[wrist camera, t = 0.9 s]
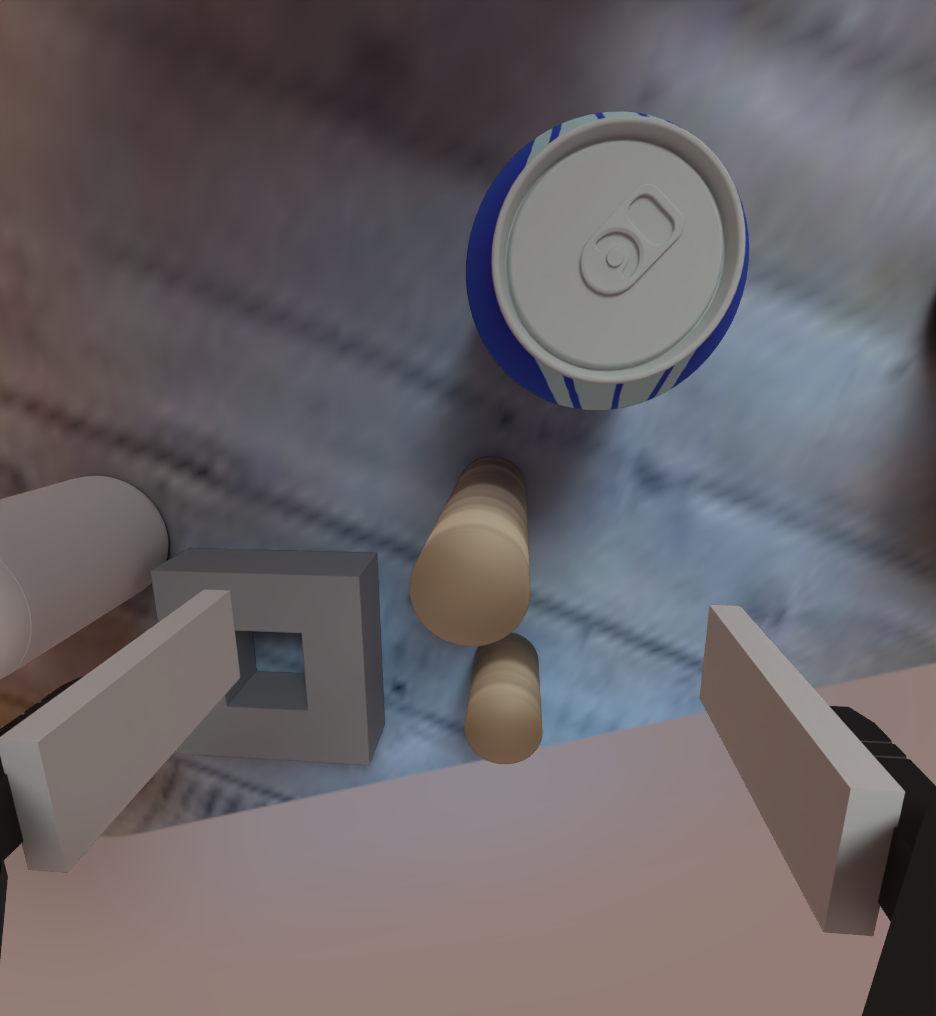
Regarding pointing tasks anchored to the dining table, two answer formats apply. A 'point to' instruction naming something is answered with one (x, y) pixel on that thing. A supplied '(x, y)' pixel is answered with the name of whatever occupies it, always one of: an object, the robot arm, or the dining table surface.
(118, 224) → the dining table surface
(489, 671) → the short dowel
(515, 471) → the tall dowel
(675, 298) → the beer can
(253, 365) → the dining table surface
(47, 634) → the pill bottle
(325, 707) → the socket block
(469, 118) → the dining table surface
